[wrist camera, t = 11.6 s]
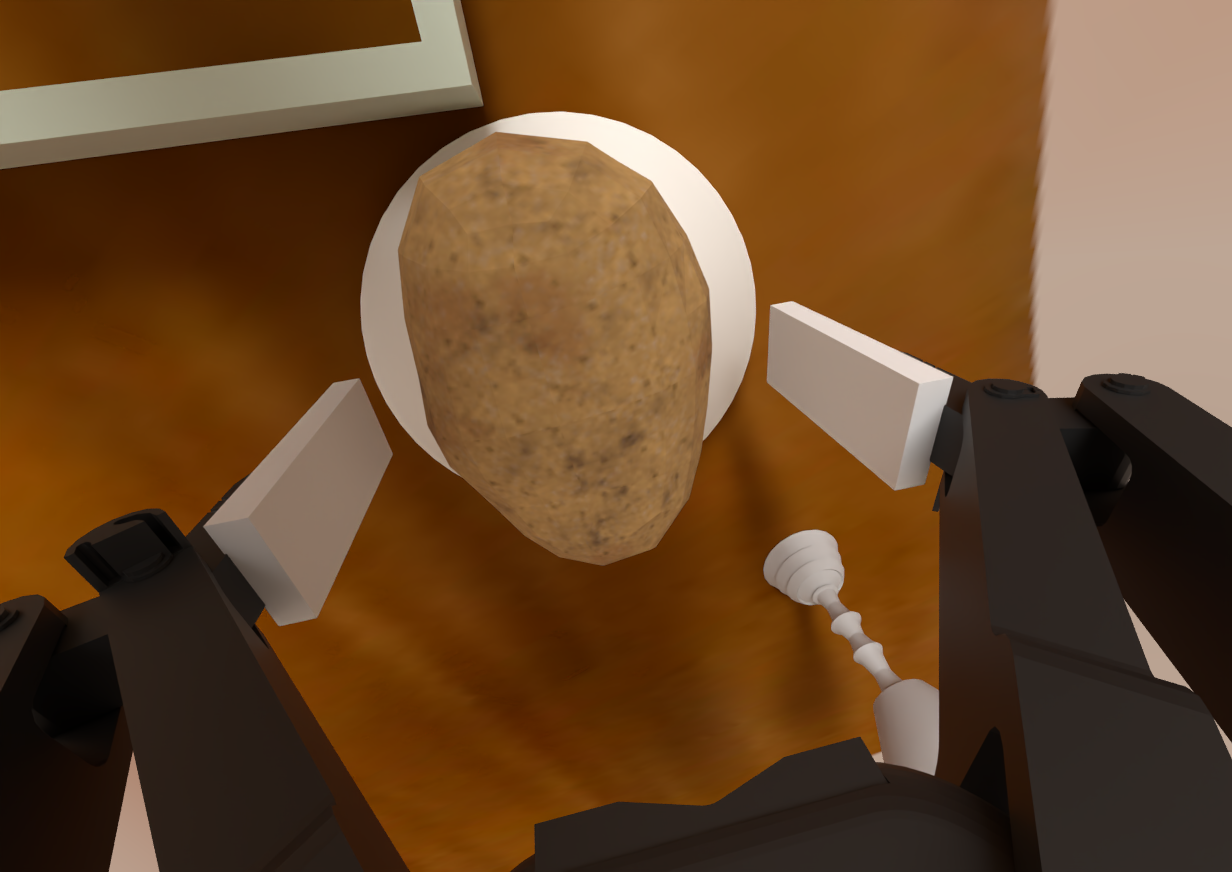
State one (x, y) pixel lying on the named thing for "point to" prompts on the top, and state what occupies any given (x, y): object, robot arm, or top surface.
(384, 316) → the plate
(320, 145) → the top surface
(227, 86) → the crate
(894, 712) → the chalice
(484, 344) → the potato
